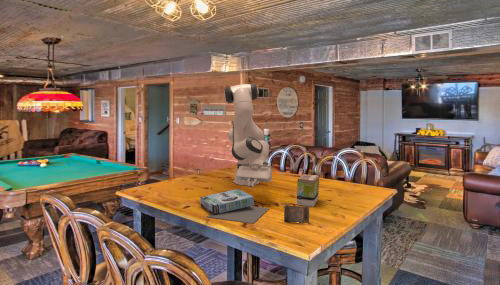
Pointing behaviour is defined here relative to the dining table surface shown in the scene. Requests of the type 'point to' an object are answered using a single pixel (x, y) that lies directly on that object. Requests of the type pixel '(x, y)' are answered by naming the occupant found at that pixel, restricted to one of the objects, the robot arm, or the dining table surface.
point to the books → (296, 213)
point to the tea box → (307, 190)
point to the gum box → (226, 201)
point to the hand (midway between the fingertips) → (250, 186)
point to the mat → (242, 214)
